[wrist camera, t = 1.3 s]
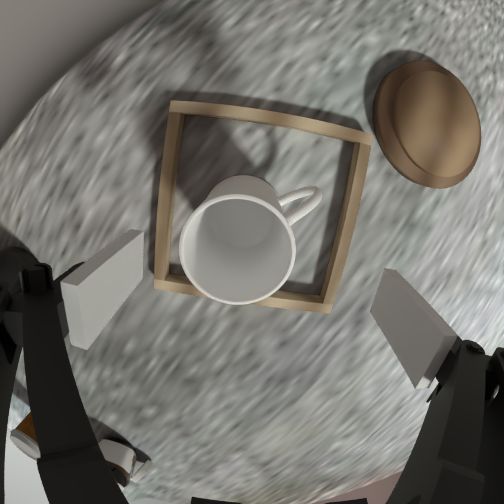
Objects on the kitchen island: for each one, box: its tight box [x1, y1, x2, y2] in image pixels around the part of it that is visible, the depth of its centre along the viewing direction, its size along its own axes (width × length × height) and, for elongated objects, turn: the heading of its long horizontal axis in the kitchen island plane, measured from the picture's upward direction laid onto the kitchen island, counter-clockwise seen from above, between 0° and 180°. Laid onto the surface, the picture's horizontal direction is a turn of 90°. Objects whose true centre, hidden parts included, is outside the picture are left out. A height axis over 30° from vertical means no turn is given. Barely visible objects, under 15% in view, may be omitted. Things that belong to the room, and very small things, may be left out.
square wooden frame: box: [154, 100, 373, 314], centre depth 30 cm, size 20×20×2 cm
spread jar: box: [99, 438, 153, 492], centre depth 43 cm, size 12×11×12 cm
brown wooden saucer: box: [373, 61, 481, 189], centre depth 26 cm, size 15×15×3 cm
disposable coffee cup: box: [10, 412, 40, 461], centre depth 41 cm, size 10×10×12 cm
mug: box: [179, 175, 322, 305], centre depth 25 cm, size 12×8×12 cm
